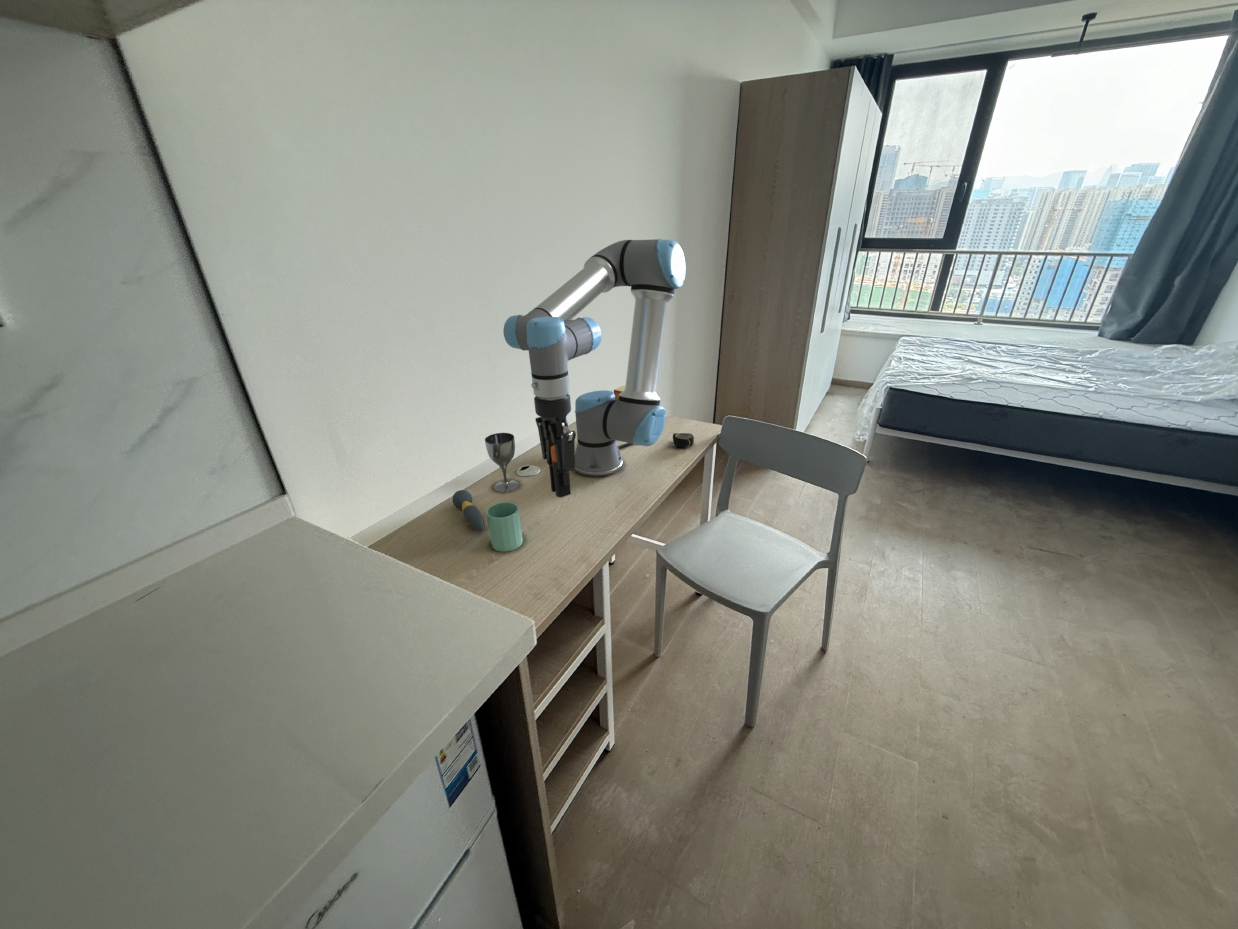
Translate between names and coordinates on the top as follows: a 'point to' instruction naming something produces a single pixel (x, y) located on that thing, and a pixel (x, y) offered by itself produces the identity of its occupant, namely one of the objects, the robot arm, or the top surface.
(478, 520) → the paintbrush
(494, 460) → the wine glass
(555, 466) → the marker
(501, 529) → the green pen cup
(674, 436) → the tape measure
